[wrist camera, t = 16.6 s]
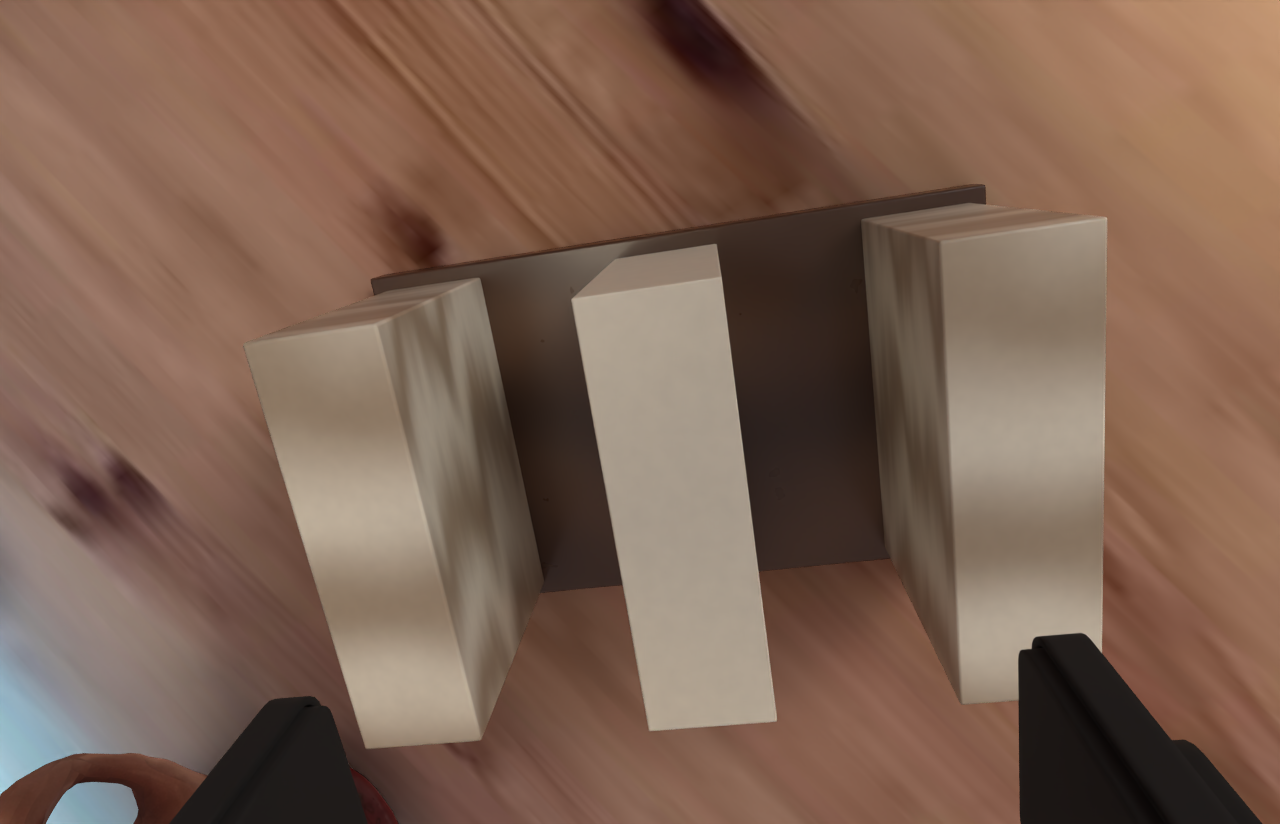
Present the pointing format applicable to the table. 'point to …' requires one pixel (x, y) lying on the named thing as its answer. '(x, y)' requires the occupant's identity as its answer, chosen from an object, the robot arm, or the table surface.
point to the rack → (770, 428)
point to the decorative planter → (134, 788)
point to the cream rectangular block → (677, 486)
